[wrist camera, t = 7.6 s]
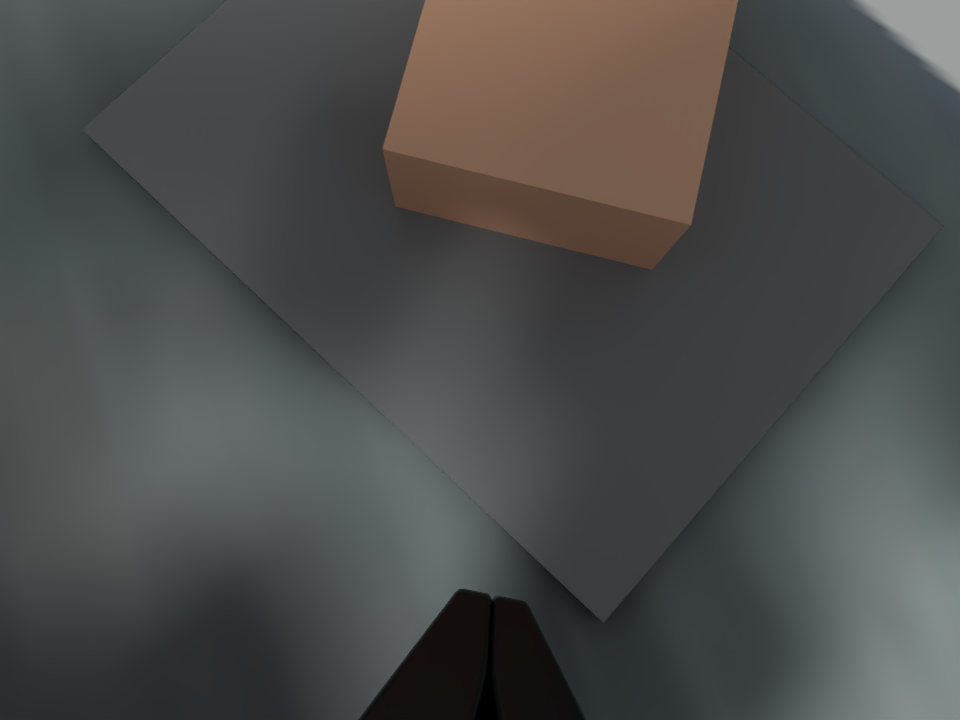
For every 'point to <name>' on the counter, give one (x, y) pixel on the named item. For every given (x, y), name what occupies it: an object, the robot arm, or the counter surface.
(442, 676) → the robot arm
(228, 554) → the counter surface
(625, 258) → the card box
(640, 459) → the mat
